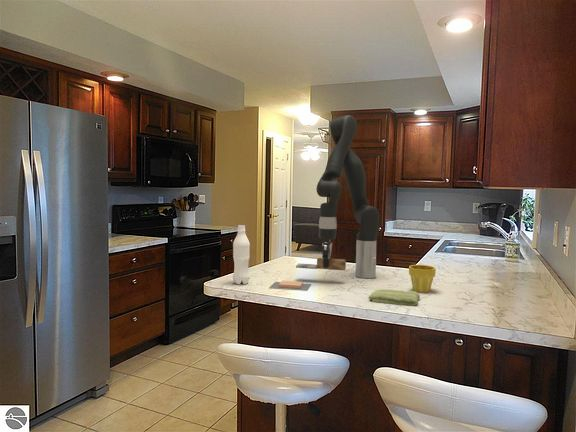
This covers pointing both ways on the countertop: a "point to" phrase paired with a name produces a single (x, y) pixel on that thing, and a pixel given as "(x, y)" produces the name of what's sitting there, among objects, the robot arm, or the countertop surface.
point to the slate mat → (303, 288)
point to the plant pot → (422, 277)
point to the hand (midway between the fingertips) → (326, 266)
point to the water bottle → (241, 256)
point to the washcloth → (395, 297)
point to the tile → (291, 284)
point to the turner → (333, 265)
